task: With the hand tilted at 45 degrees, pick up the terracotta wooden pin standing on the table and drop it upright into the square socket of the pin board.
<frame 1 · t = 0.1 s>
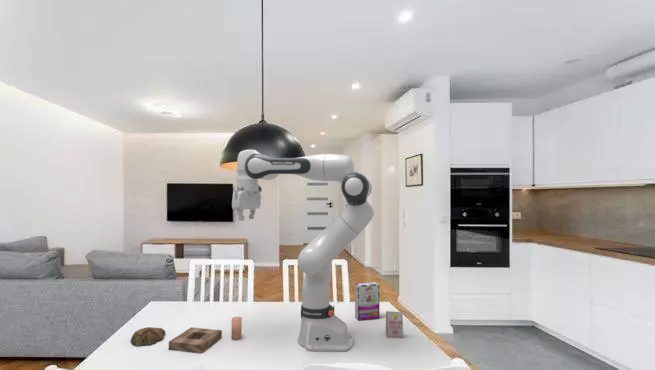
hand: (246, 219, 143), 48 cm above the table, tool pointing down, fingers open, 8 cm apart
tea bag: (394, 336, 140), on the table
pin: (236, 338, 136), on the table
candy bar box: (366, 318, 160), on the table
pin board: (196, 343, 131), on the table
bread roll: (148, 340, 135), on the table
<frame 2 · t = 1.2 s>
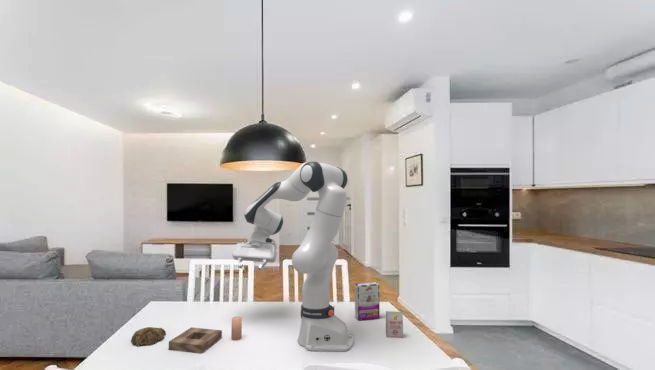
hand: (250, 268, 150), 26 cm above the table, tool tilted 45°, fingers open, 8 cm apart
nothing on the table moved.
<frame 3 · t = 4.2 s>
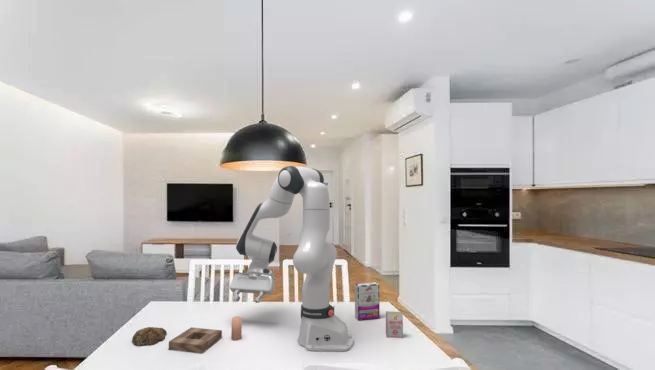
hand: (246, 301, 146), 12 cm above the table, tool tilted 45°, fingers open, 8 cm apart
nothing on the table moved.
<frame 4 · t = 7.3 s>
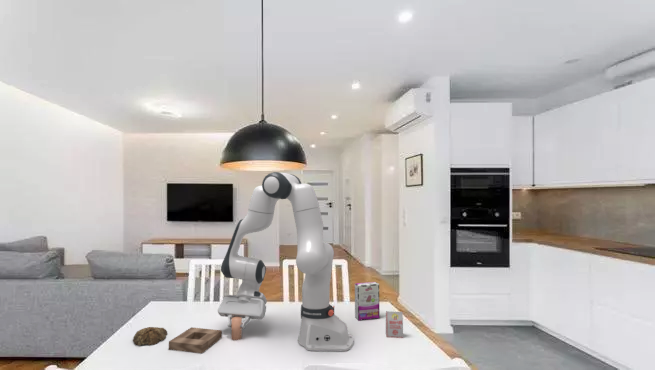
hand: (235, 327, 136), 5 cm above the table, tool tilted 45°, fingers closed on pin, 4 cm apart
pin: (236, 338, 136), on the table, touching gripper
everything else where it was.
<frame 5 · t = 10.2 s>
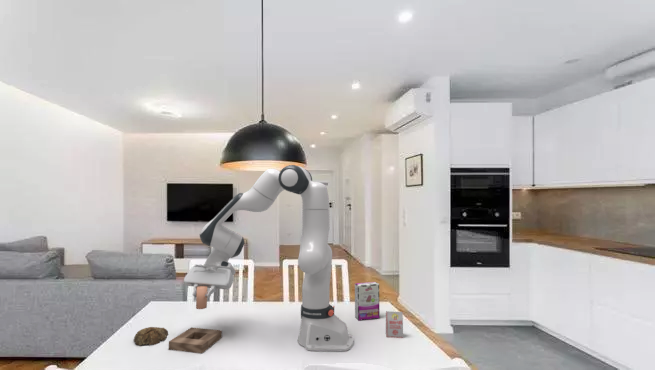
hand: (200, 296, 132), 18 cm above the table, tool tilted 45°, fingers closed on pin, 4 cm apart
pin: (201, 307, 133), point 14 cm above the table, touching gripper
everything else where it was.
when the fingers open (7 cm above the table, at t = 13.2 s): pin drops 2 cm, resting in pin board.
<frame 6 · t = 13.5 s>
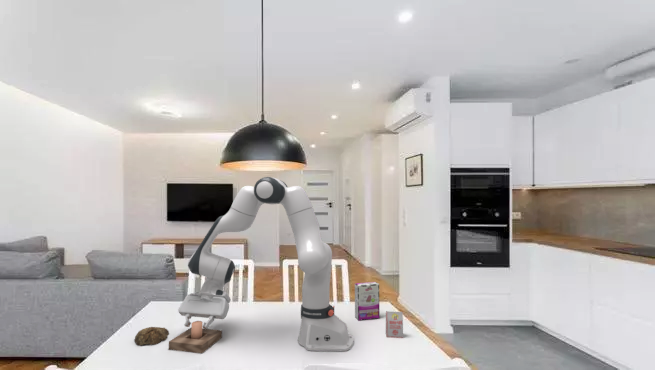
hand: (195, 327, 131), 7 cm above the table, tool tilted 45°, fingers open, 7 cm apart
pin: (196, 343, 131), resting in pin board
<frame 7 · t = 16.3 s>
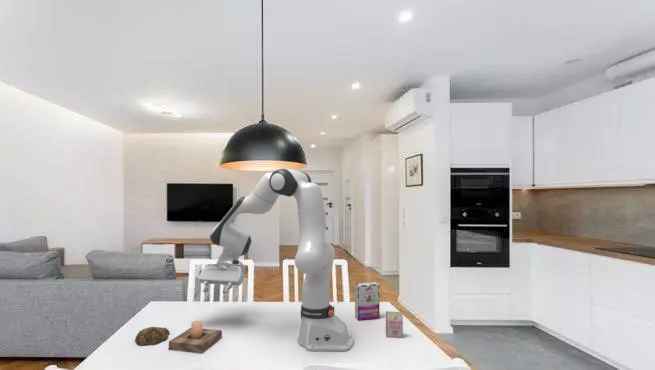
hand: (214, 292, 144), 16 cm above the table, tool tilted 45°, fingers open, 8 cm apart
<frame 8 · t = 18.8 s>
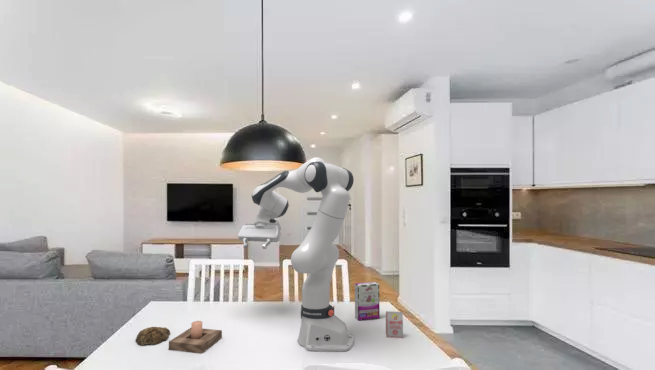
hand: (254, 247, 154), 34 cm above the table, tool tilted 45°, fingers open, 8 cm apart
at the end: pin 0.1 cm off-centre on the pin board, point 0.0 cm above the pin board's base; pin tilted 0°; the gripper is holding nothing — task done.
